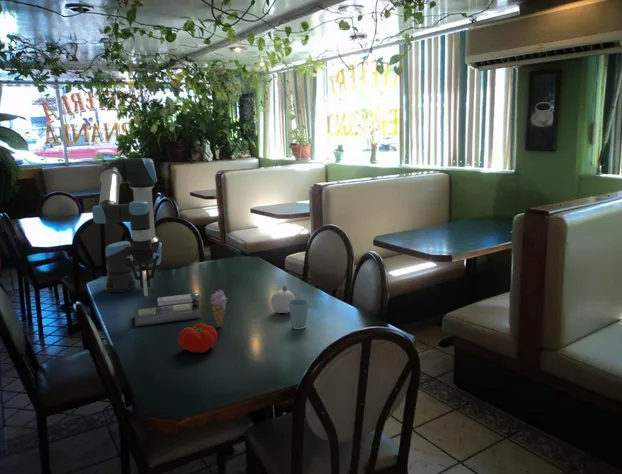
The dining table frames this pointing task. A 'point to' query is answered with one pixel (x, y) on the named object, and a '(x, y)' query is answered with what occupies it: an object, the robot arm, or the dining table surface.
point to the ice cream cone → (218, 306)
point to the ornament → (282, 300)
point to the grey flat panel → (178, 299)
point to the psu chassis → (167, 313)
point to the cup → (298, 312)
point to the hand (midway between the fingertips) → (145, 295)
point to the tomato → (198, 338)
